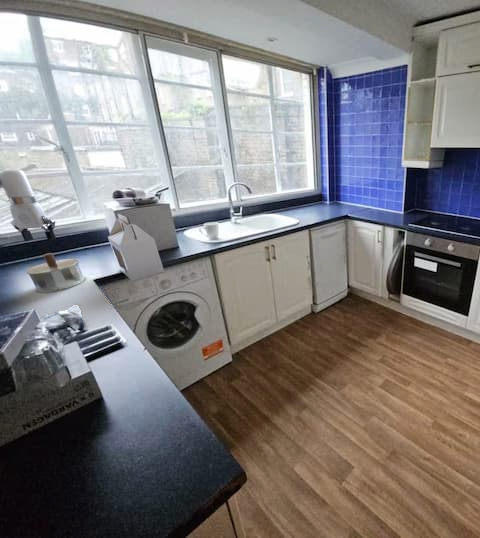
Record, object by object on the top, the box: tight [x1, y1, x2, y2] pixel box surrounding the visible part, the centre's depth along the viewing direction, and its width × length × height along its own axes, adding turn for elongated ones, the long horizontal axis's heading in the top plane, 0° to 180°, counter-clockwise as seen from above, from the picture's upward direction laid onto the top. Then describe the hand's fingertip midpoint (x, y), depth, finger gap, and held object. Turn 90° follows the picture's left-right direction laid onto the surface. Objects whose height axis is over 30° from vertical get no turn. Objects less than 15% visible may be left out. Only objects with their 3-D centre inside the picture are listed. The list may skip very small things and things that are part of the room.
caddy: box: [28, 263, 85, 293], centre depth 132 cm, size 16×16×8 cm
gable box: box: [107, 213, 165, 282], centre depth 140 cm, size 22×13×28 cm, turn 49°
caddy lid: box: [26, 252, 79, 275], centre depth 129 cm, size 17×17×7 cm
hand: (40, 240), depth 129 cm, fingers open, 9 cm apart
